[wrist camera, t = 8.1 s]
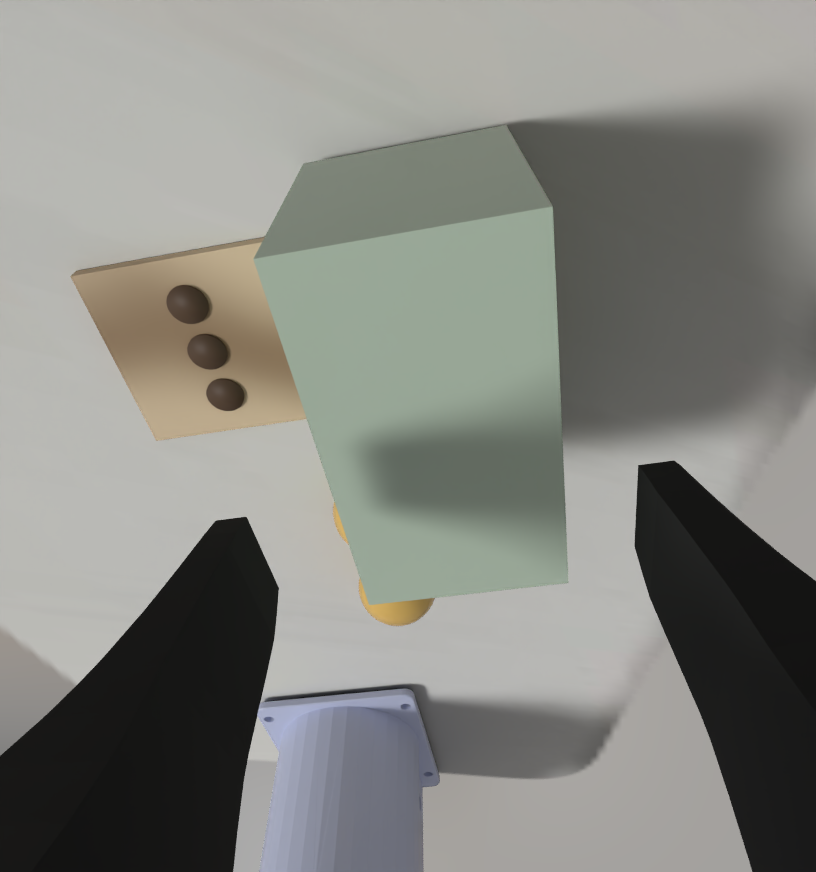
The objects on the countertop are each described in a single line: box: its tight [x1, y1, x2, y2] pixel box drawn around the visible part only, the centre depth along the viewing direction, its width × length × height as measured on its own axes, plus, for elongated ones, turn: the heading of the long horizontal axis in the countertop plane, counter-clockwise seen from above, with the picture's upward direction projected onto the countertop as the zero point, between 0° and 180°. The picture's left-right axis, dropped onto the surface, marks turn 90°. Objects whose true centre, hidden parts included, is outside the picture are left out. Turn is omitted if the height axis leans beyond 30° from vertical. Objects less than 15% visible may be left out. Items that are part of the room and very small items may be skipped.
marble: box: [359, 579, 435, 626], centre depth 25 cm, size 3×3×3 cm
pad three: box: [71, 237, 307, 441], centre depth 20 cm, size 6×6×1 cm
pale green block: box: [253, 125, 568, 605], centre depth 16 cm, size 10×5×6 cm, turn 10°
